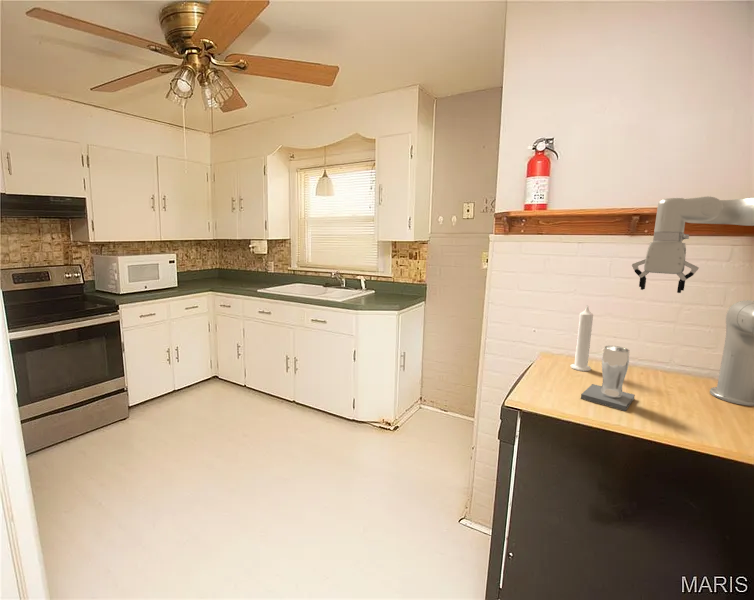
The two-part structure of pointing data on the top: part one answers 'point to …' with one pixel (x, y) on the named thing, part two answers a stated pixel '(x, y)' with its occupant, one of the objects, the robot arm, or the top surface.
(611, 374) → the beer glass
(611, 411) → the top surface
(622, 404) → the slate coaster
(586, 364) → the candle
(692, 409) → the top surface
